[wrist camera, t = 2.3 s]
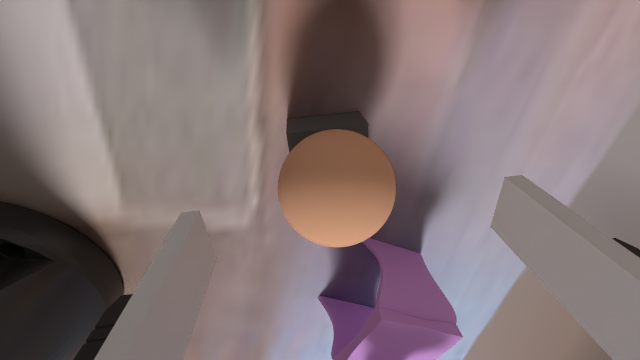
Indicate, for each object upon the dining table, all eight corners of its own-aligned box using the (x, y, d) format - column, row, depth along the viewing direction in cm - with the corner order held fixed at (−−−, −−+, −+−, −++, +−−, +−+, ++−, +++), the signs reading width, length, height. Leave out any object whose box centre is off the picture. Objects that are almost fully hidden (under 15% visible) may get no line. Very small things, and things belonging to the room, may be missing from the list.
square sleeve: (296, 181, 20) (296, 201, 18) (286, 119, 18) (286, 133, 16) (359, 173, 20) (368, 192, 18) (359, 111, 18) (368, 124, 16)
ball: (287, 207, 19) (286, 281, 13) (272, 119, 16) (262, 171, 10) (377, 196, 19) (409, 265, 14) (379, 108, 16) (421, 152, 11)
